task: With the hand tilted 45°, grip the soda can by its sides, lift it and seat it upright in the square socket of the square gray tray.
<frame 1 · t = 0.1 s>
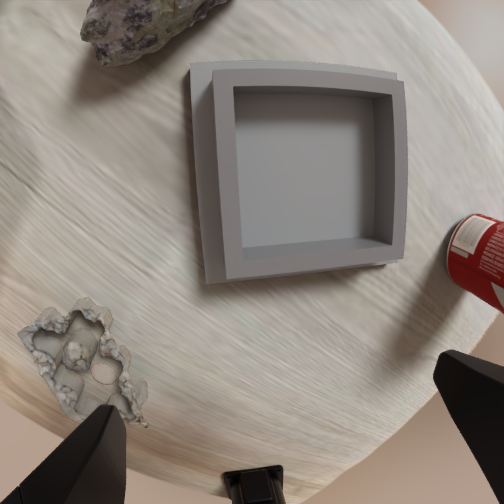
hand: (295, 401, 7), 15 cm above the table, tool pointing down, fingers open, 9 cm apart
soda can: (465, 247, 25), on the table
egg carton: (93, 355, 23), on the table
square gray tray: (304, 167, 20), on the table
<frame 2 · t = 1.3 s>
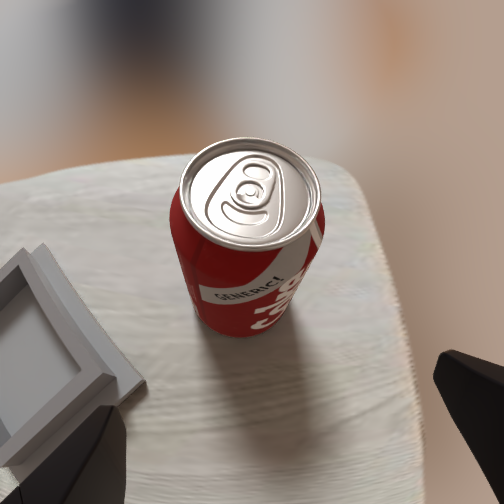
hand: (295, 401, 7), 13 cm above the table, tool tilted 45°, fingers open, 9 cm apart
soda can: (239, 294, 23), on the table
square gray tray: (27, 364, 19), on the table
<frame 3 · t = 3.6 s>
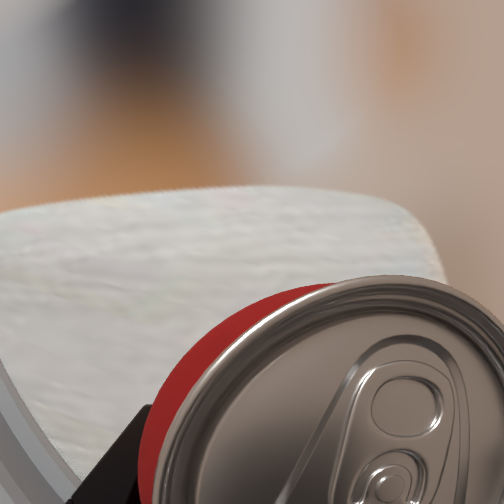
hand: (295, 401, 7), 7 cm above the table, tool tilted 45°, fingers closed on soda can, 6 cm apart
soda can: (269, 431, 13), on the table, touching gripper
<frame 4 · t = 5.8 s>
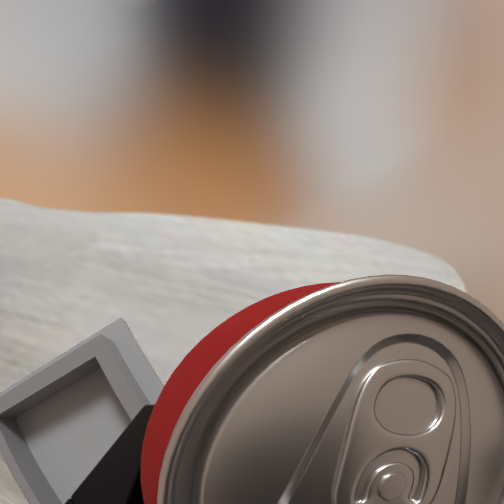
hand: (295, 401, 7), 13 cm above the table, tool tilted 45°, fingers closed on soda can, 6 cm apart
soda can: (269, 430, 13), point 6 cm above the table, touching gripper
square gray tray: (96, 453, 16), on the table
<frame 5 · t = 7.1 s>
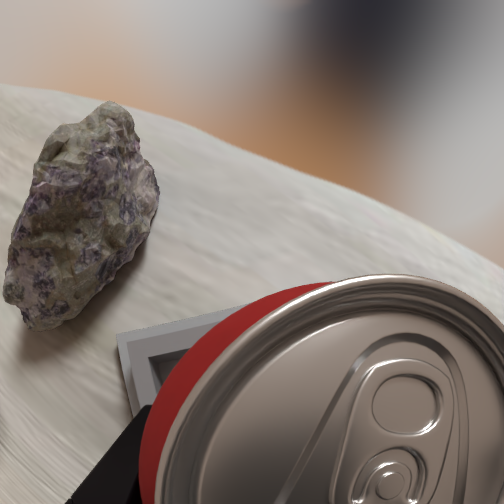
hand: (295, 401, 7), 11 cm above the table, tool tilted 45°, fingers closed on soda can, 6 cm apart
soda can: (268, 430, 13), point 4 cm above the table, touching gripper
square gray tray: (258, 420, 17), on the table
mineral rock: (93, 243, 22), on the table
when the fingers open (9 cm above the table, at t = 8.0 s): soda can drops 1 cm, resting on square gray tray.
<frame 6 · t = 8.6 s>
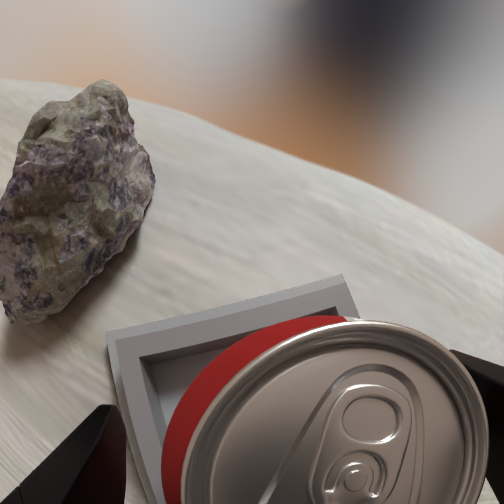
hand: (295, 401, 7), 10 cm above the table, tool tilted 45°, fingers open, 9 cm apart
soda can: (267, 433, 14), point 1 cm above the table, touching square gray tray
square gray tray: (262, 428, 15), on the table
mineral rock: (83, 233, 20), on the table
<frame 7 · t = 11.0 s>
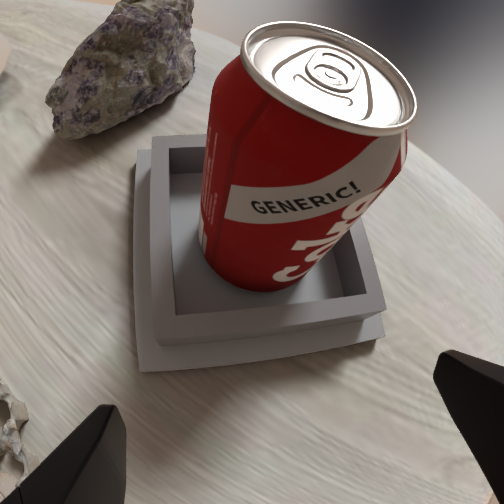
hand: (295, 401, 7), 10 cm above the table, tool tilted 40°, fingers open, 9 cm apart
soda can: (255, 241, 19), point 1 cm above the table, touching square gray tray
egg carton: (3, 463, 11), on the table
square gray tray: (251, 243, 20), on the table
mineral rock: (128, 96, 24), on the table
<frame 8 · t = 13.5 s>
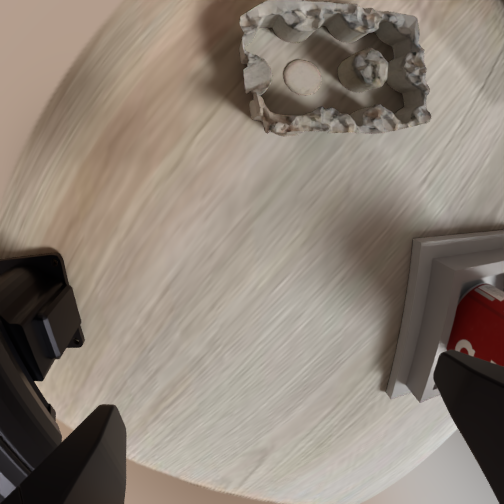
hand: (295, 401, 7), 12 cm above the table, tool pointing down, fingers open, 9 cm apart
soda can: (465, 315, 22), point 1 cm above the table, touching square gray tray
egg carton: (326, 74, 17), on the table
square gray tray: (462, 310, 23), on the table
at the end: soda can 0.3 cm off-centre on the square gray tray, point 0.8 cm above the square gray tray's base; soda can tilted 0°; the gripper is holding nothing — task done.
